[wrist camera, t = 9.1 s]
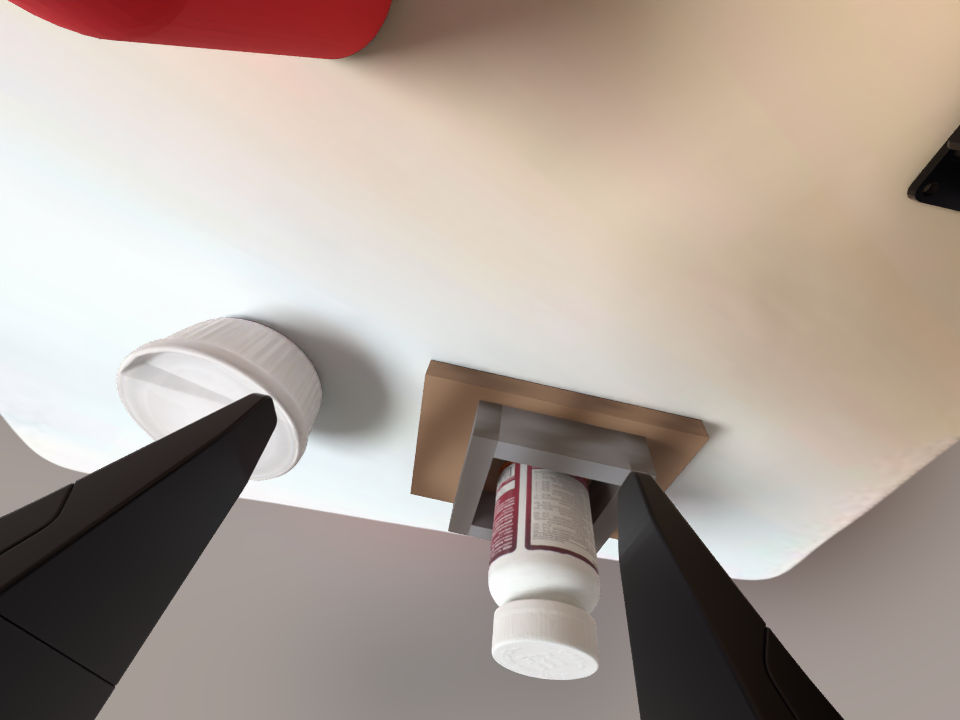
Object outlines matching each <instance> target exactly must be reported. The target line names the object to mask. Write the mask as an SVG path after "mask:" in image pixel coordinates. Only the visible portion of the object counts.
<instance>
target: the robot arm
mask: <svg viewBox="0 0 960 720" xmlns="http://www.w3.org/2000/svg"><path fill="white" fill-rule="evenodd" d="M929 184H931V186H930V187H929V189H928V190H927V191H925V192H923V190H924V188H925V187H926V186H927V185H929ZM907 195H908V197H909V198H910V199H912V200H915V201H918V202H922V203H926V204H930V205H935V206H939V207H943V208H948V209H952V210H956V211H960V125H959V127H958V128H957V129H956V130H955V131H954V133H953V134H952V135H951V136H950V138H949V139H948V140H947V141H946V142H945V144H944V145H943V146H942V147H941V149H940V150H939V151H938V152H937V153H936V155H935V156H934V157H933V158H932V160H931V161H930V162H929V163H928V164H927V166H926V167H925V168H924V169H923V170H922V172H921V173H920V174H919V175H918V177H917V178H916V179H915V180H914V181H913V183H912V184H911V185H910V187H909V189H908V192H907ZM276 425H277V415H276V411H275V407H274V402H273V399H272V397H271V396H269V395H265V394H260V393H252V394H249V395H247V396H245V397H243V398H241V399H239V400H237V401H235V402H233V403H231V404H229V405H227V406H225V407H223V408H221V409H219V410H217V411H215V412H213V413H211V414H209V415H207V416H205V417H203V418H201V419H199V420H197V421H195V422H193V423H191V424H189V425H187V426H185V427H183V428H181V429H179V430H177V431H175V432H173V433H171V434H169V435H167V436H165V437H163V438H161V439H159V440H157V441H155V442H153V443H151V444H149V445H147V446H145V447H143V448H141V449H139V450H137V451H135V452H133V453H131V454H129V455H127V456H125V457H123V458H121V459H119V460H117V461H115V462H113V463H111V464H109V465H107V466H105V467H103V468H101V469H99V470H97V471H95V472H93V473H91V474H89V475H87V476H85V477H83V478H81V479H79V480H77V481H76V482H75V484H74V483H71V484H69V485H66V486H65V487H62V488H60V489H58V490H57V491H55V492H53V493H50V494H49V495H47V496H44V497H42V498H40V499H38V500H36V501H34V502H32V503H30V504H28V505H26V506H24V507H22V508H20V509H17V510H15V511H13V512H11V513H9V514H7V515H5V516H2V517H0V720H94V719H95V718H96V717H97V715H98V713H99V712H100V710H101V709H102V707H103V706H104V704H105V703H106V701H107V700H108V698H109V697H110V695H111V693H112V692H113V690H114V689H115V685H117V684H118V682H119V681H120V679H121V677H122V676H123V674H124V673H125V671H126V670H127V668H128V667H129V665H130V664H131V662H132V661H133V659H134V657H135V656H136V654H137V653H138V651H139V650H140V648H141V647H142V645H143V644H144V642H145V640H146V639H147V637H148V636H149V634H150V633H151V631H152V629H153V628H154V627H155V625H156V623H157V622H158V620H159V619H160V617H161V616H162V614H163V613H164V611H165V610H166V608H167V606H168V605H169V603H170V602H171V600H172V599H173V597H174V596H175V594H176V593H177V591H178V589H179V588H180V586H181V585H182V583H183V582H184V580H185V579H186V577H187V576H188V574H189V572H190V571H191V569H192V568H193V566H194V565H195V563H196V562H197V560H198V559H199V557H200V556H201V554H202V552H203V551H204V549H205V548H206V546H207V545H208V543H209V541H210V540H211V539H212V537H213V535H214V534H215V532H216V531H217V529H218V528H219V526H220V524H221V523H222V521H223V520H224V518H225V517H226V515H227V514H228V512H229V511H230V509H231V508H232V506H233V505H234V503H235V501H236V500H237V498H238V497H239V495H240V494H241V492H242V491H243V489H244V487H245V486H246V484H247V483H248V481H249V479H250V477H251V475H252V473H253V471H254V469H255V467H256V465H257V463H258V461H259V459H260V458H261V456H262V454H263V452H264V450H265V448H266V446H267V444H268V442H269V440H270V438H271V436H272V434H273V432H274V430H275V428H276ZM617 511H618V549H619V563H620V572H621V579H622V586H623V594H624V601H625V608H626V616H627V623H628V631H629V638H630V645H631V653H632V659H633V667H634V675H635V682H636V688H637V697H638V704H639V711H640V718H641V720H844V719H843V718H842V717H841V715H840V714H839V713H838V712H837V711H836V710H835V708H834V707H833V706H832V705H831V704H830V703H829V701H828V700H827V699H826V698H825V697H824V695H823V694H822V693H821V692H820V691H819V689H818V688H817V687H816V686H815V685H814V684H813V682H812V681H811V680H810V679H809V678H808V676H807V675H806V674H805V673H804V671H803V670H802V669H801V668H800V666H799V665H798V664H797V663H796V661H795V660H794V659H793V658H792V656H791V655H790V654H789V653H788V651H787V650H786V649H785V648H784V646H783V645H782V644H781V642H780V641H779V640H778V638H777V637H776V636H775V635H774V633H773V632H772V631H771V629H770V628H769V627H766V624H765V622H764V621H763V619H762V618H761V617H760V615H759V614H758V613H757V612H756V610H755V609H754V608H753V606H752V605H751V604H750V603H749V601H748V600H747V599H746V597H745V596H744V595H743V593H742V592H741V591H740V590H739V588H738V587H737V586H736V585H735V583H734V582H733V581H732V579H731V578H730V577H729V575H728V574H727V573H726V571H725V570H724V569H723V568H722V566H721V565H720V564H719V562H718V561H717V560H716V559H715V557H714V556H713V555H712V553H711V552H710V551H709V550H708V548H707V547H706V546H705V544H704V543H703V542H702V540H701V539H700V538H699V537H698V535H697V534H696V533H695V531H694V530H693V529H692V528H691V526H690V525H689V524H688V522H687V521H686V520H685V519H684V517H683V516H682V515H681V513H680V512H679V511H678V509H677V508H676V507H675V506H674V504H673V503H672V502H671V500H670V499H669V498H668V497H667V495H666V494H665V493H664V491H663V490H662V489H661V488H660V486H659V485H658V484H657V482H656V481H655V480H654V478H653V477H652V476H651V475H650V474H648V473H645V472H640V471H635V470H633V471H631V472H630V473H629V474H628V476H627V477H626V479H625V480H624V482H623V484H622V485H621V487H620V488H619V491H618V494H617Z"/></svg>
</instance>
